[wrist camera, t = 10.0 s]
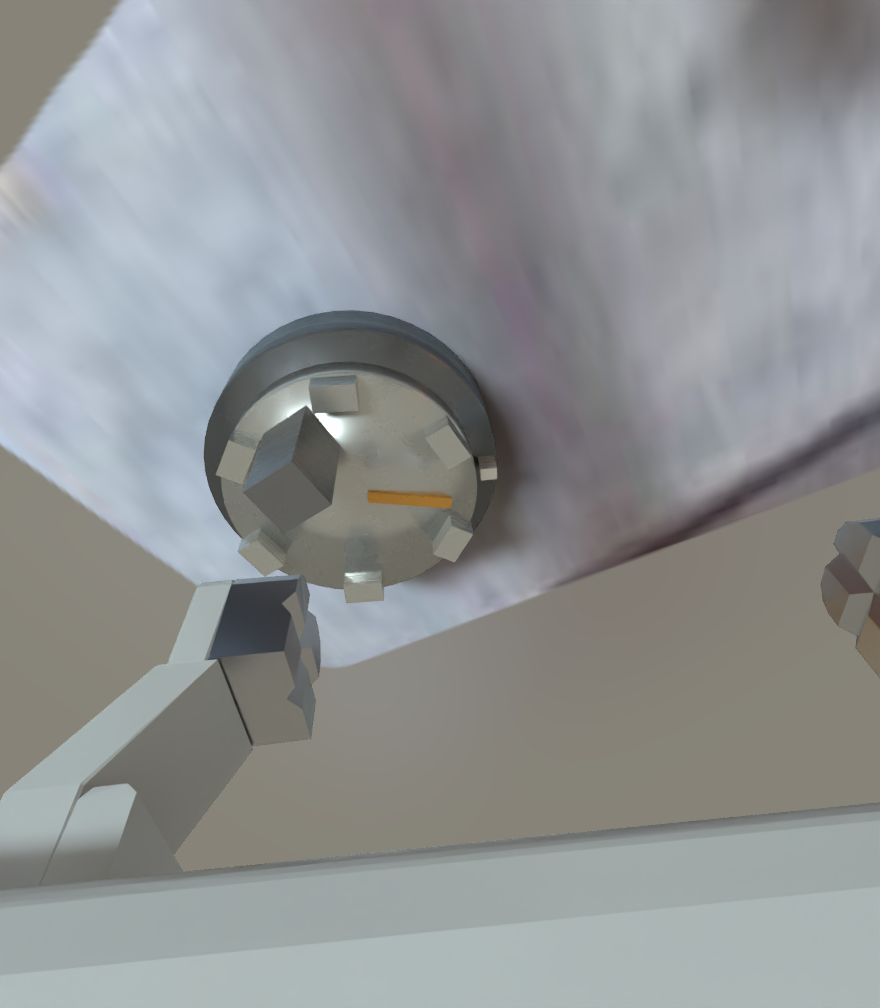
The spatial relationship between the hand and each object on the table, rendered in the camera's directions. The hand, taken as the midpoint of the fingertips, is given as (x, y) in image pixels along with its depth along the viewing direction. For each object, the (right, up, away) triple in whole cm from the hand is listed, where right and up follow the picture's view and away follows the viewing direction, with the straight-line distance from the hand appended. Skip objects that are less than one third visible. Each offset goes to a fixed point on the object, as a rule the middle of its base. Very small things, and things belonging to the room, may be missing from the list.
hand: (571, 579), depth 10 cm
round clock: (-7, +3, +30) cm, 31 cm away
